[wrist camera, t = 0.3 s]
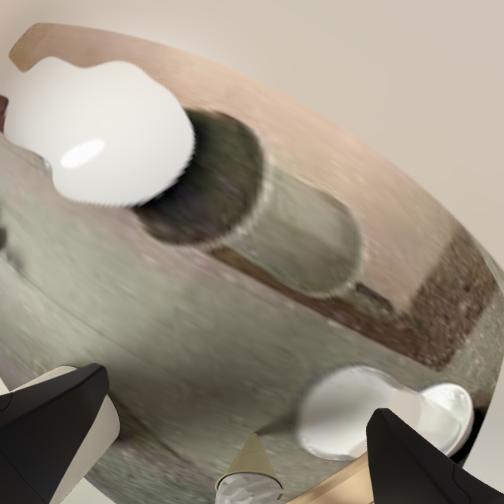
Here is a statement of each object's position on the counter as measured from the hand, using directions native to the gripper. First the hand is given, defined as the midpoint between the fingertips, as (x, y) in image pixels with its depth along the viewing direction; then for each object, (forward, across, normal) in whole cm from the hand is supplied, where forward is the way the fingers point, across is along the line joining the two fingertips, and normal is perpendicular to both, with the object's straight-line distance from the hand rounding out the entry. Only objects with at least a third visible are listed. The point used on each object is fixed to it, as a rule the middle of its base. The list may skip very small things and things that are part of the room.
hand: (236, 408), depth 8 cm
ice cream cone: (+12, -2, +16) cm, 20 cm away
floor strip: (+9, -12, +26) cm, 30 cm away
